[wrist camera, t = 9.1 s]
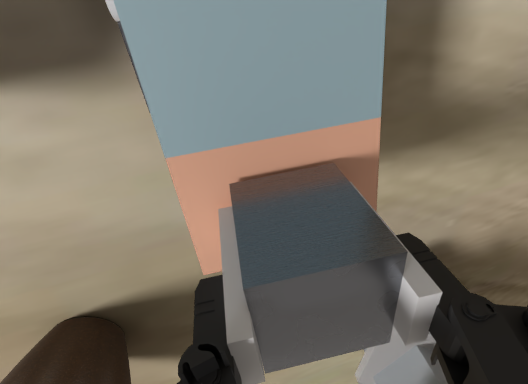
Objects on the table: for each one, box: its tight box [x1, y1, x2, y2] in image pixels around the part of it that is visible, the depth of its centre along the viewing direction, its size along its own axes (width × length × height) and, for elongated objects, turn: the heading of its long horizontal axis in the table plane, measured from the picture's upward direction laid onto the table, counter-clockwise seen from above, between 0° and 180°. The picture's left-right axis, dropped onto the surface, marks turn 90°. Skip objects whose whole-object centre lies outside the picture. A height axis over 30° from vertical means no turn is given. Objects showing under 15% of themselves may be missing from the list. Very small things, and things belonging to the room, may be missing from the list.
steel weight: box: [229, 163, 408, 374], centre depth 12 cm, size 5×5×6 cm
